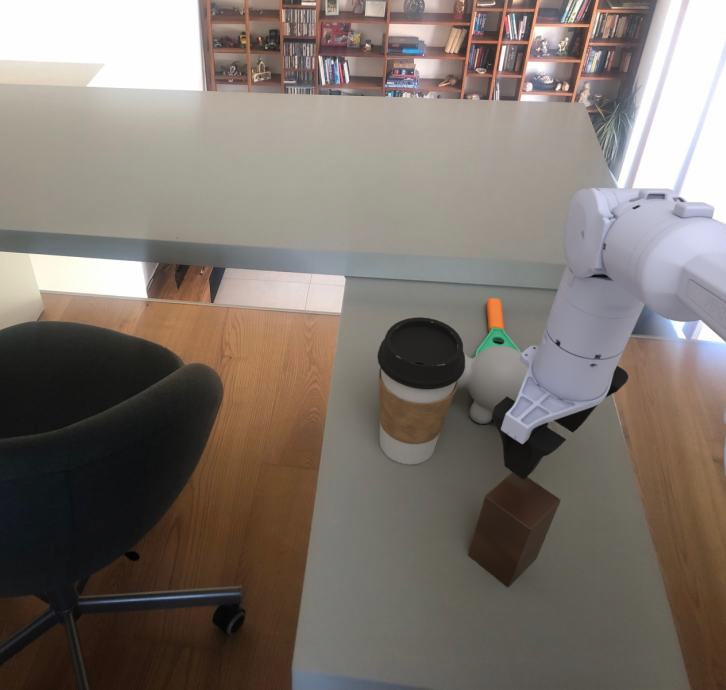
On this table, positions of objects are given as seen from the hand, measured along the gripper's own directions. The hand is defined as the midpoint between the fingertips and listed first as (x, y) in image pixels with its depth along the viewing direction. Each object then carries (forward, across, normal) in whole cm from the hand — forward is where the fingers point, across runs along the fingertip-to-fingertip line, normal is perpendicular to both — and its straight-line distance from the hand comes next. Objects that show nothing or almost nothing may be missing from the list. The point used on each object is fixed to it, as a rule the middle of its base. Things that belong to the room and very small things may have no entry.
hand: (541, 446), depth 62 cm
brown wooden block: (+10, +5, +2) cm, 11 cm away
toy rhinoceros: (+11, -9, -12) cm, 18 cm away
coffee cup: (+11, +1, -13) cm, 17 cm away
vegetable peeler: (+11, -20, -16) cm, 28 cm away
